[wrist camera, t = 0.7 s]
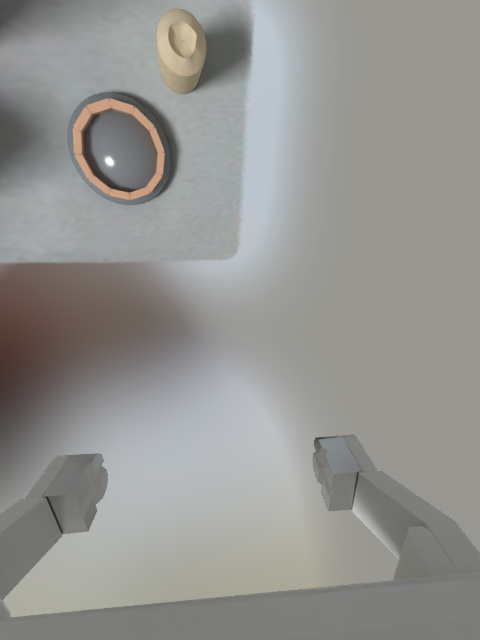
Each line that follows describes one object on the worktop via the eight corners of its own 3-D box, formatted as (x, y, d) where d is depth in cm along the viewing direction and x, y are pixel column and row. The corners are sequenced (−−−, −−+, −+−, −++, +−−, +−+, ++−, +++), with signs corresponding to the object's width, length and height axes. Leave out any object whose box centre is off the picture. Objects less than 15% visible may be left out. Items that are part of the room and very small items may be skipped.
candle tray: (51, 155, 38) (44, 154, 36) (104, 66, 35) (100, 60, 33) (137, 222, 45) (136, 224, 43) (188, 152, 42) (189, 151, 40)
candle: (193, 39, 36) (201, -3, 27) (203, 91, 39) (213, 68, 30) (153, 44, 35) (148, 4, 27) (166, 97, 38) (165, 75, 30)
